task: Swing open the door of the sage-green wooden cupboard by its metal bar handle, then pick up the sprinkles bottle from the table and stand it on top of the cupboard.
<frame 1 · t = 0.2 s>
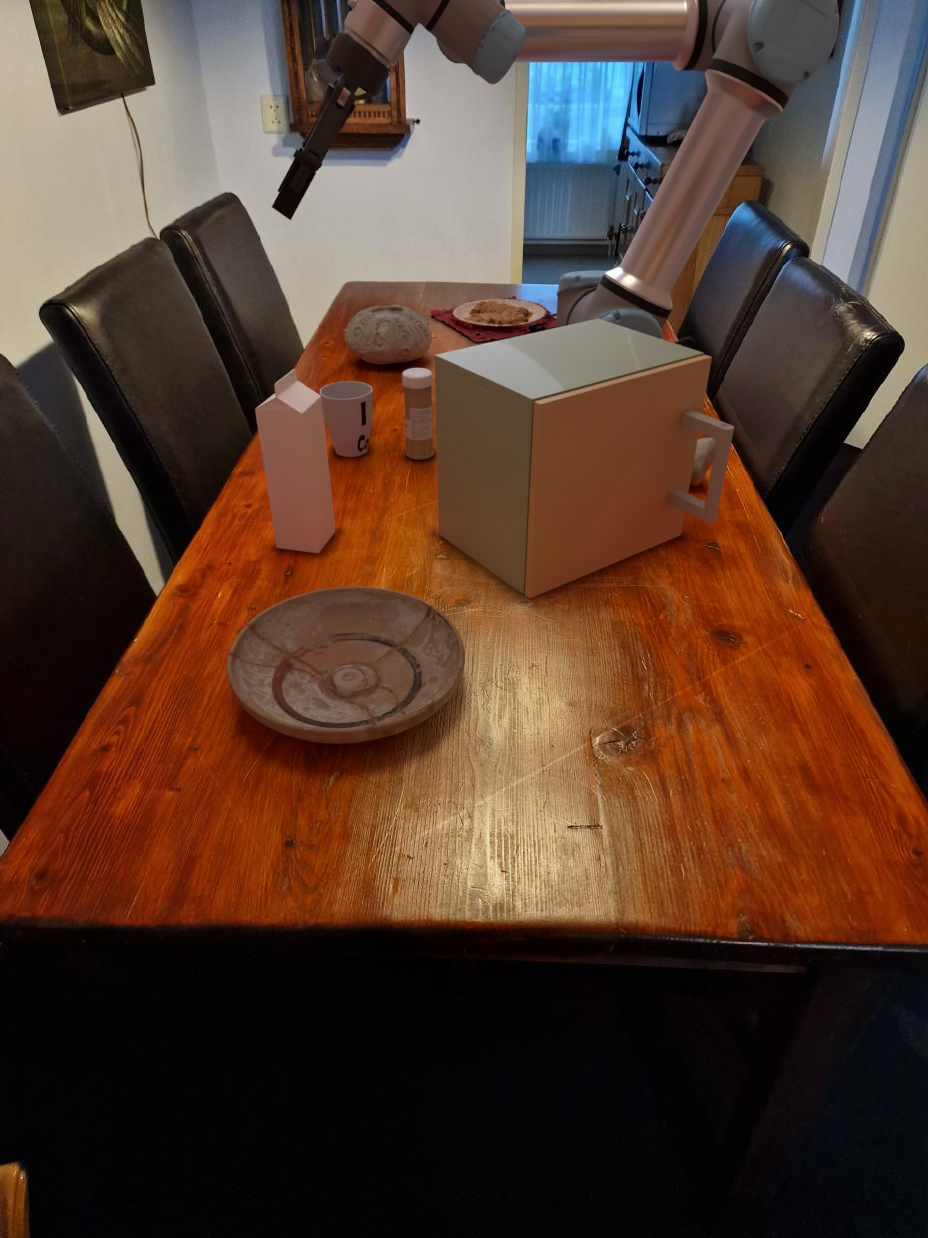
hand: (283, 204, 110), 36 cm above the table, tool tilted 35°, fingers open, 13 cm apart
sprinkles bottle: (420, 456, 130), on the table
plate with food: (496, 322, 192), on the table
door: (638, 487, 94), point 12 cm above the table, hinge at 0.0°
cup: (351, 451, 132), on the table
cabinet: (556, 533, 109), on the table
milk: (306, 541, 108), on the table
ceramic sculpture: (659, 482, 122), on the table
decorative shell: (389, 360, 169), on the table
ceramic bowl: (351, 688, 83), on the table
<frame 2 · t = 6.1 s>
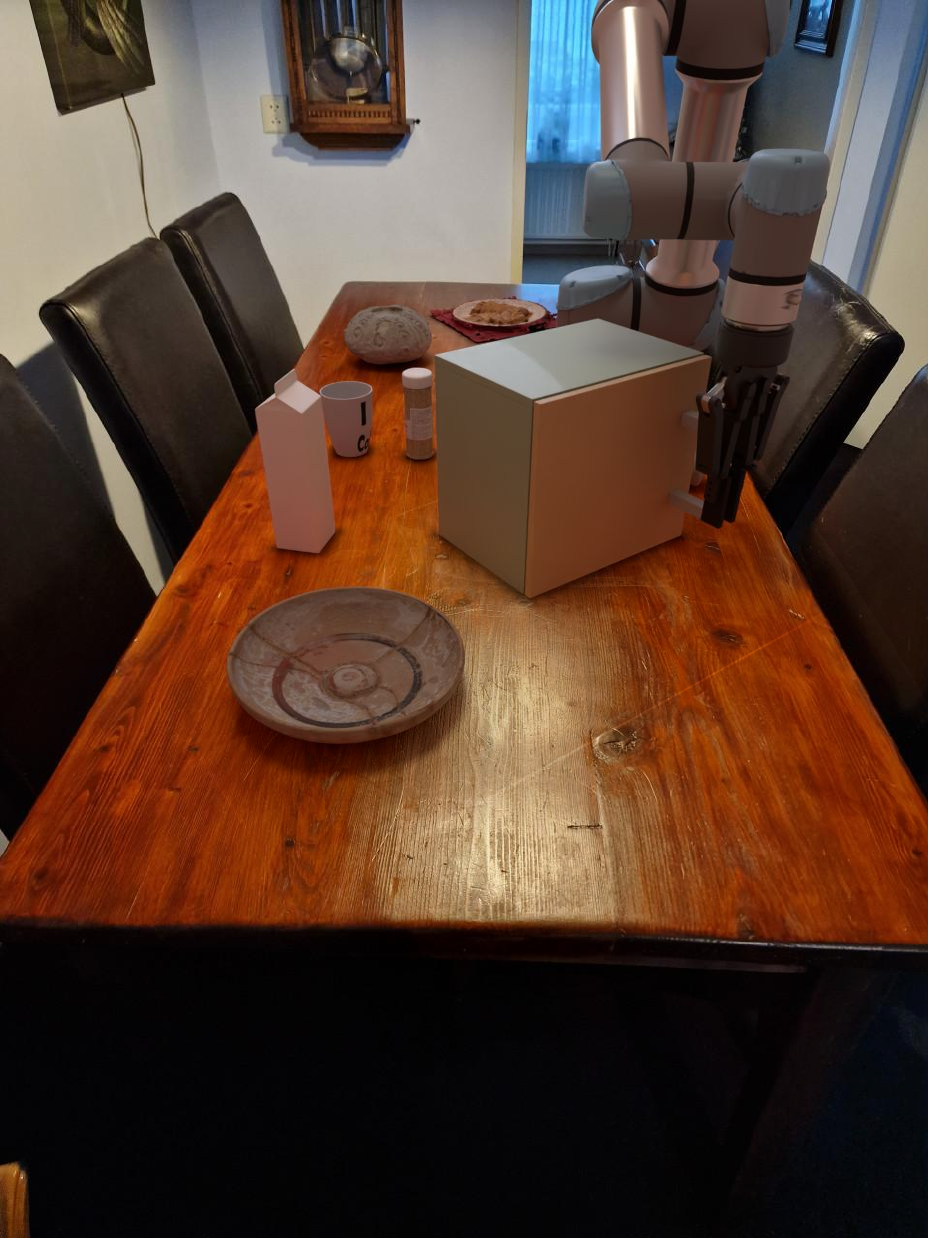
hand: (717, 520, 99), 6 cm above the table, tool pointing down, fingers closed on door, 2 cm apart
door: (638, 487, 94), point 12 cm above the table, hinge at 0.0°, touching gripper
everything else where it was.
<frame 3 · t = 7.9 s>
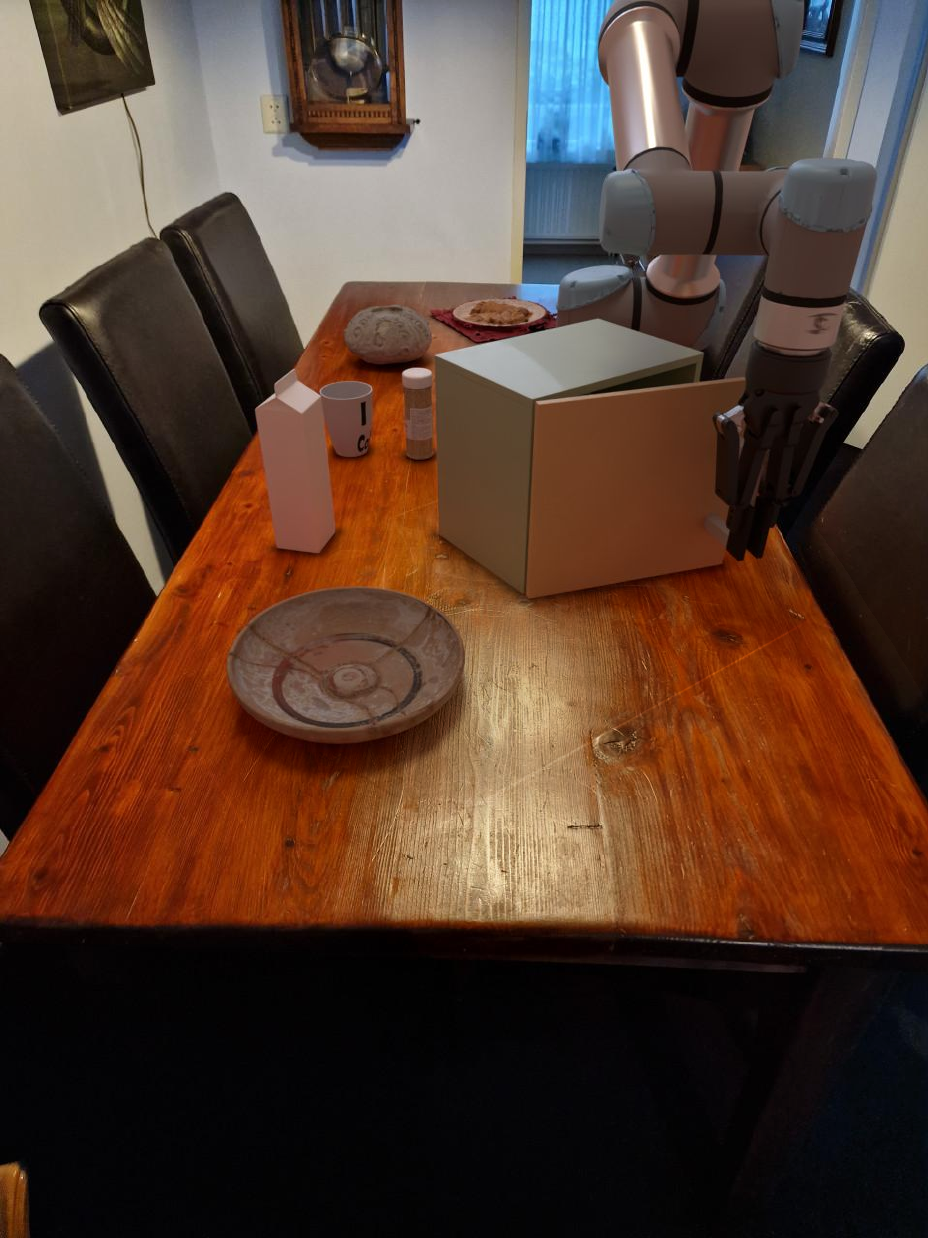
hand: (743, 553, 92), 6 cm above the table, tool pointing down, fingers closed on door, 2 cm apart
door: (652, 504, 90), point 12 cm above the table, hinge at 18.1°, touching gripper
everything else where it was.
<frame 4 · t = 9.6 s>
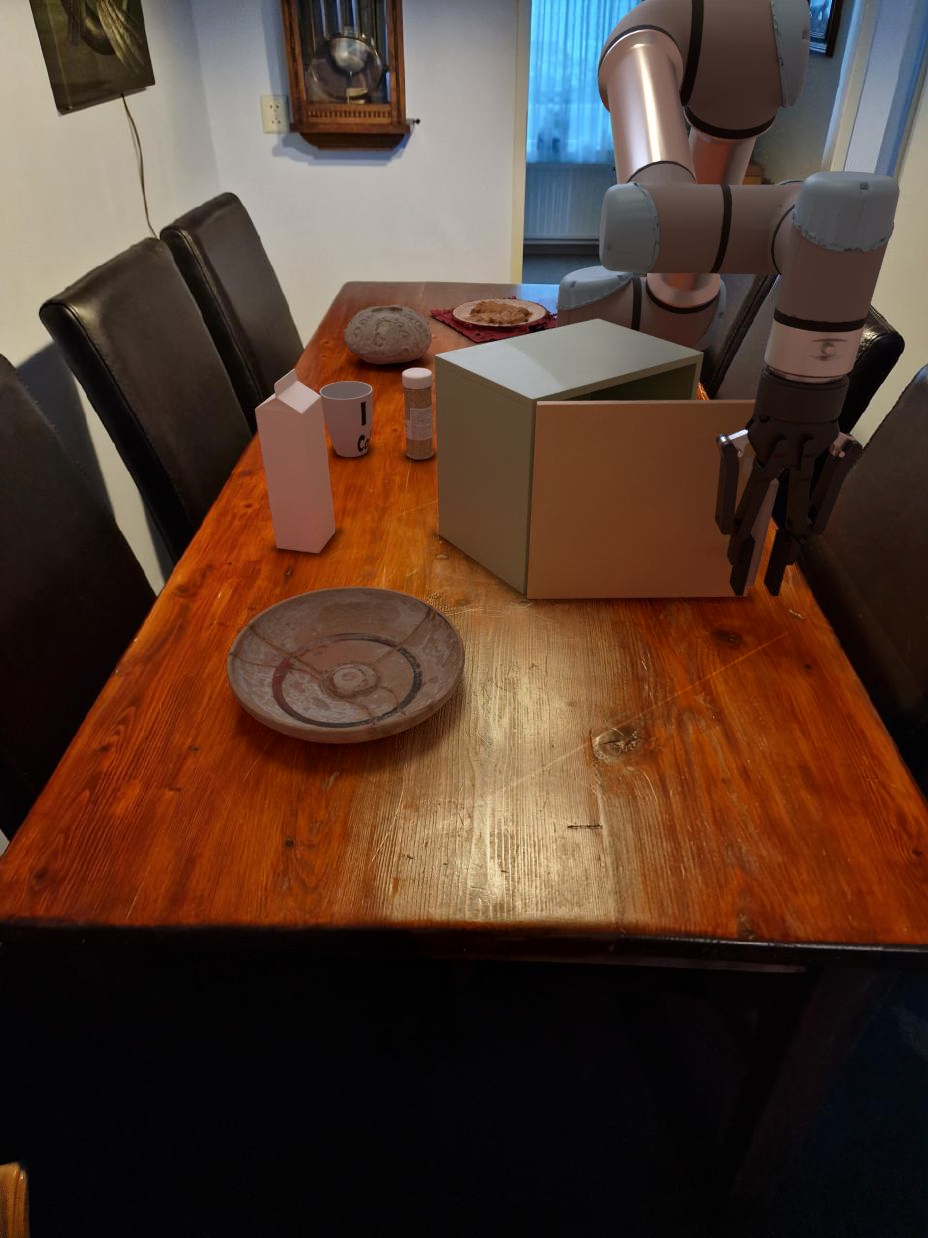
hand: (753, 588, 87), 6 cm above the table, tool pointing down, fingers open, 3 cm apart
door: (656, 520, 87), point 12 cm above the table, hinge at 34.6°
everything else where it was.
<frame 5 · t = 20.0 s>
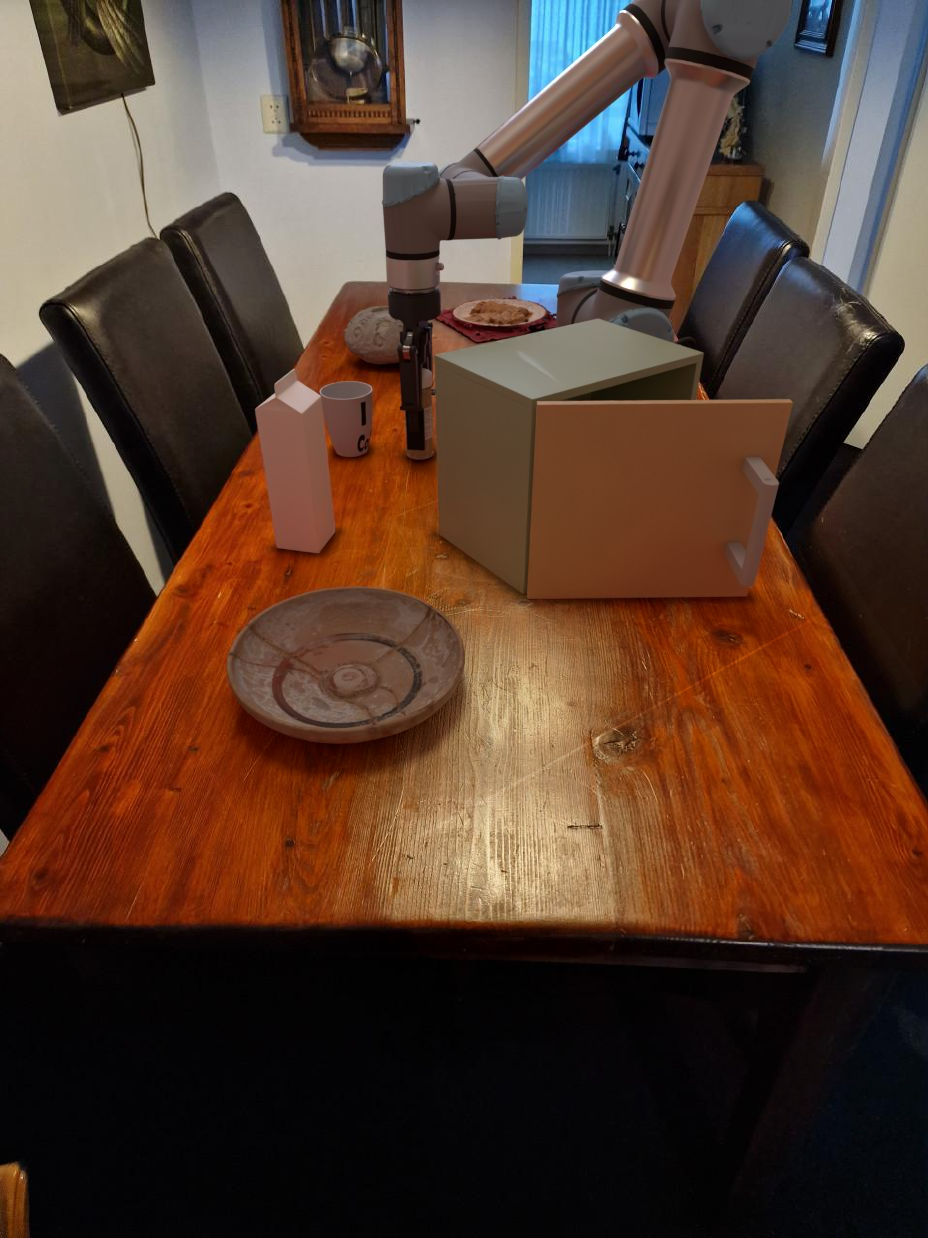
hand: (419, 442, 129), 2 cm above the table, tool pointing down, fingers closed on sprinkles bottle, 4 cm apart
sprinkles bottle: (420, 456, 130), on the table, touching gripper
everything else where it was.
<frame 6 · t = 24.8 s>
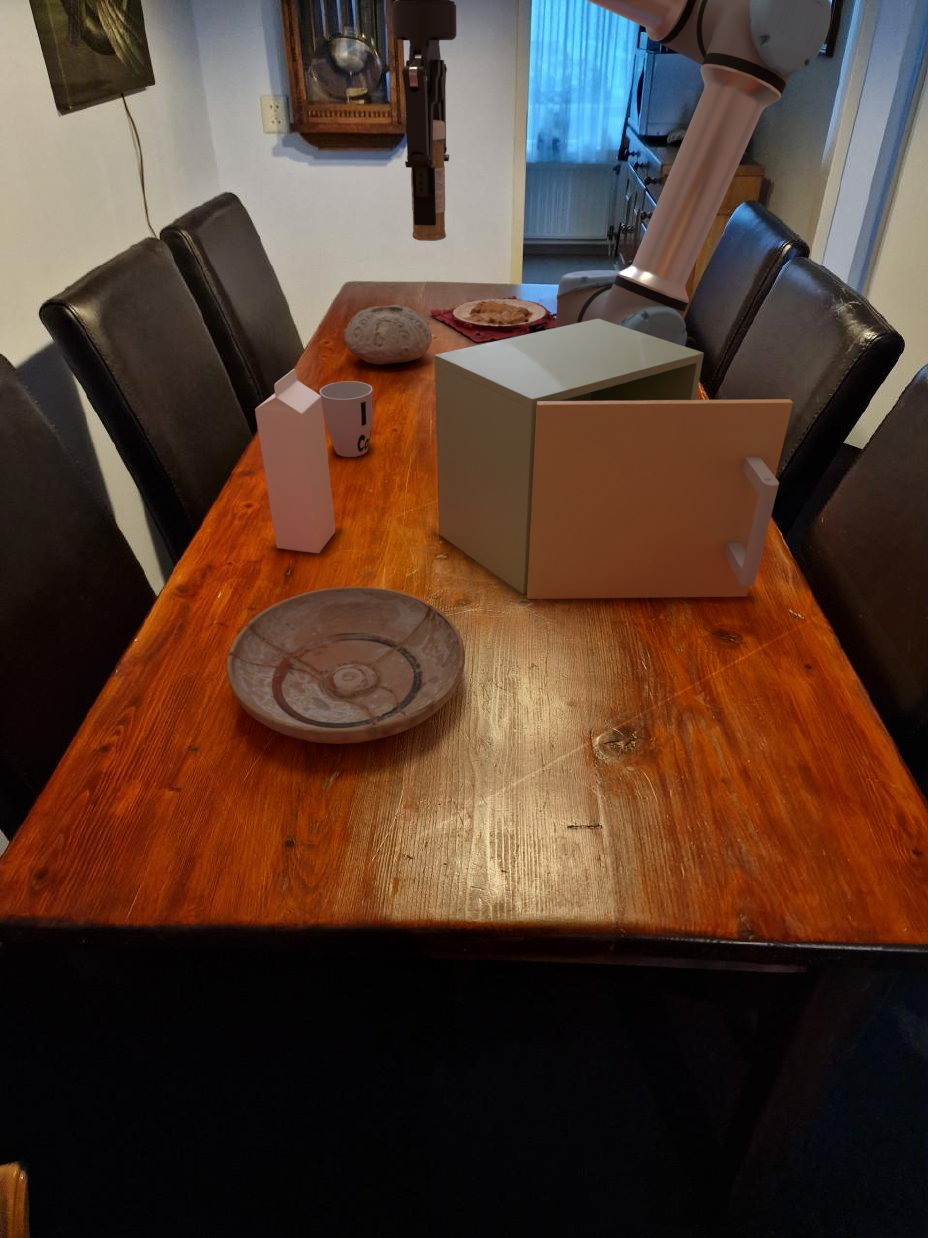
hand: (429, 220, 107), 35 cm above the table, tool pointing down, fingers closed on sprinkles bottle, 4 cm apart
sprinkles bottle: (429, 240, 109), point 32 cm above the table, touching gripper
everything else where it was.
when the fingers open (26 cm above the table, at t = 29.9 s): sprinkles bottle stays where it is, resting on cabinet.
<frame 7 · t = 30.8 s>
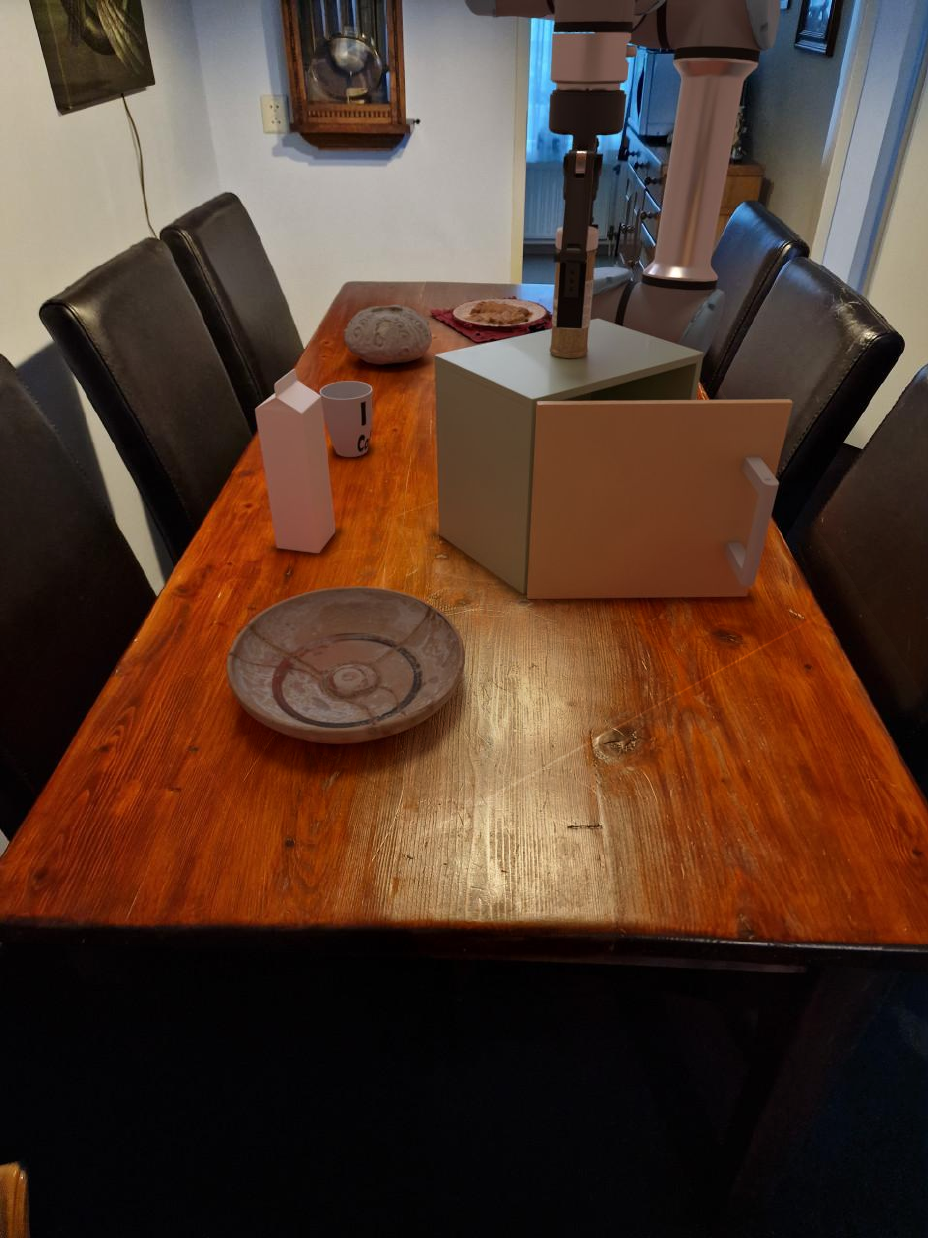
hand: (572, 310, 93), 29 cm above the table, tool pointing down, fingers open, 13 cm apart
sprinkles bottle: (568, 355, 95), point 24 cm above the table, touching cabinet
everything else where it was.
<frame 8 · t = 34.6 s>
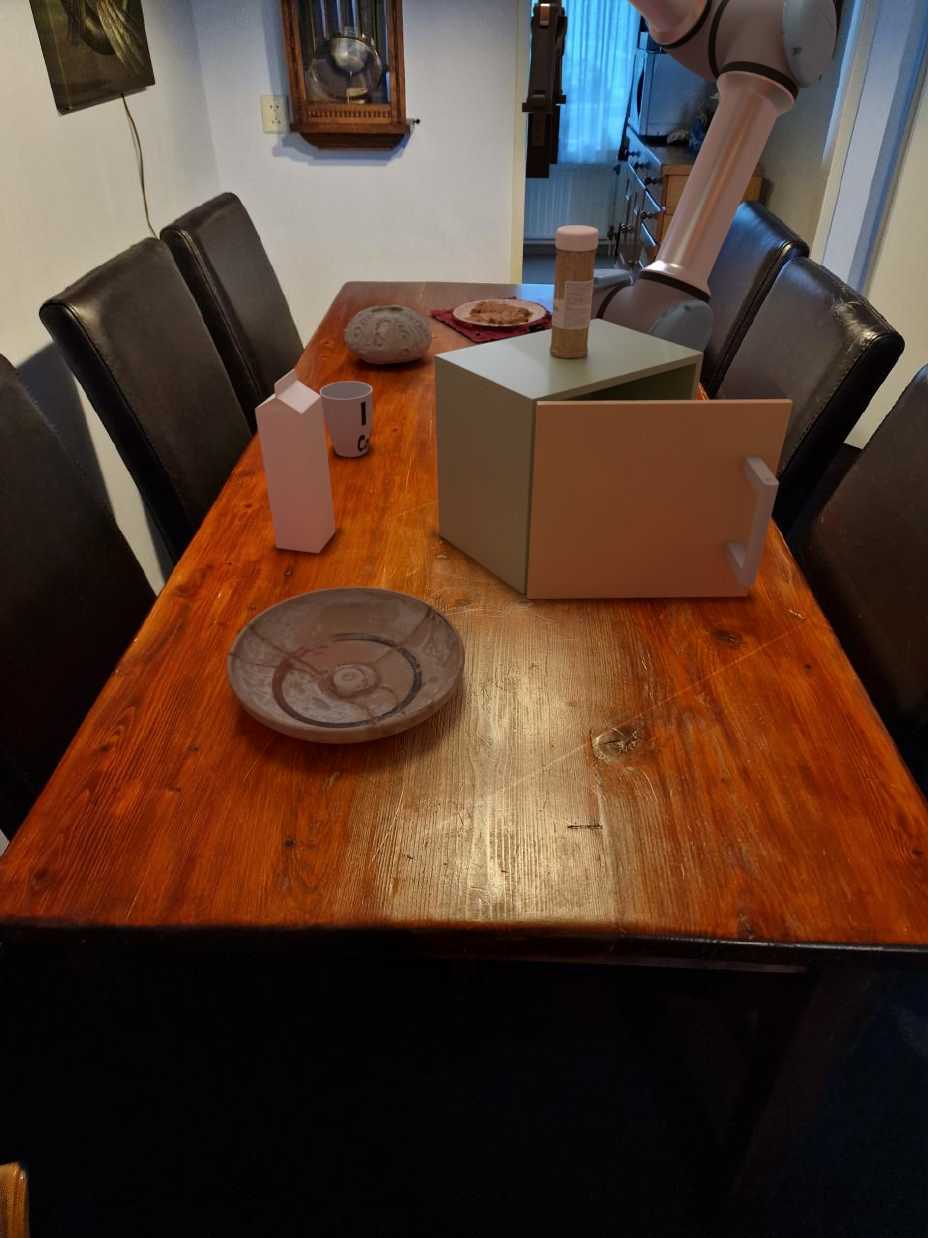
hand: (542, 170, 101), 41 cm above the table, tool pointing down, fingers open, 13 cm apart
nothing on the table moved.
at the end: door at +35° (first picture: +0°); sprinkles bottle inside the target area on the cabinet (0.1 cm from its centre), point 23.8 cm above the cabinet's base; sprinkles bottle tilted 0° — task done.
